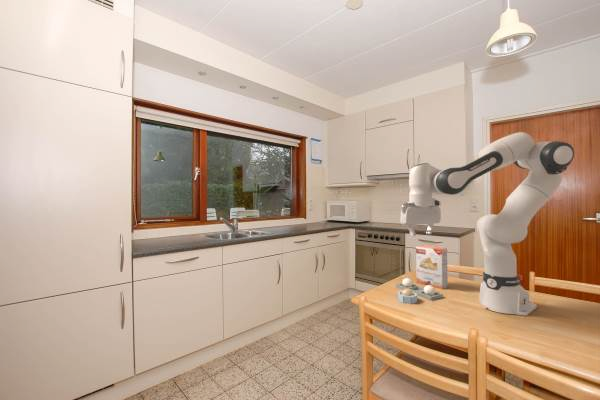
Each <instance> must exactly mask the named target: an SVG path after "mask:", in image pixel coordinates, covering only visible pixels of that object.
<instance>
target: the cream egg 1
mask: <svg viewBox="0 0 600 400" xmlns="http://www.w3.org/2000/svg"><path fill="white" fill-rule="evenodd" d="M401 283H402V284H403V286H404V287H407V288H409V287H412V285H413V284H414V282H413V280H412V279H411V278H410V277H406V278H403V280H402V282H401Z"/></svg>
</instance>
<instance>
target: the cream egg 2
mask: <svg viewBox="0 0 600 400" xmlns="http://www.w3.org/2000/svg"><path fill="white" fill-rule="evenodd" d="M423 288H424V293H425V294H426V295H429V296H433V295H434V294H435V292H436V289H435V287H433V286H431V285H424V287H423Z"/></svg>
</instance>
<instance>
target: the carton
mask: <svg viewBox="0 0 600 400" xmlns="http://www.w3.org/2000/svg"><path fill="white" fill-rule="evenodd" d="M395 288H397V289H400V290H401V291H402V290H404V289H410V290H411V291H412V292H415V293H417V297H418V296H419V297H420V298H423V299H426V300H428V301H434V300H438V299H442V298H444V294H443V293H440V292H438V291H435V294H434V295H433V296H429V295H426V294H425V293H424V287H422V286H420V285H417V284H414V283H413V285H412V287H409V288H407V287H404V286H403V284H402V282H401V283H395Z"/></svg>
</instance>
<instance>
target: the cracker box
mask: <svg viewBox="0 0 600 400" xmlns="http://www.w3.org/2000/svg"><path fill="white" fill-rule="evenodd" d="M415 254H416V255H415V259H416V260H415V263H416V265H415V269H416V270H415V271H416V274H415V275H416V283H417V284H420V285H424V286H427V285H431V286H433V287H434V288H436V289H440V290H445V289H446V288H448V248H444V247H439V246H437V247H436V246H430V245H424V244H423V245H422V244H420V245H417V246H416V247H415Z"/></svg>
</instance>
